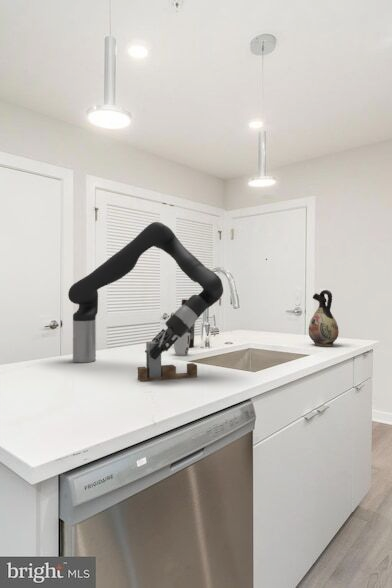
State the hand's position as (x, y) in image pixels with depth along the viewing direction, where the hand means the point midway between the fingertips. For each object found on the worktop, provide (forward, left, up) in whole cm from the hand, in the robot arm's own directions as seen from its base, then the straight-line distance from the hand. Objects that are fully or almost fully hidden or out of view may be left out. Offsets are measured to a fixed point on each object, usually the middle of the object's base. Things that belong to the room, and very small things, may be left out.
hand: (149, 355), depth 129 cm
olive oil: (+33, +64, -8) cm, 73 cm away
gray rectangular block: (+1, 0, -7) cm, 7 cm away
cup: (+25, +42, -8) cm, 49 cm away
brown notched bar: (+6, 0, -8) cm, 10 cm away
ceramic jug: (+105, +43, -8) cm, 114 cm away
